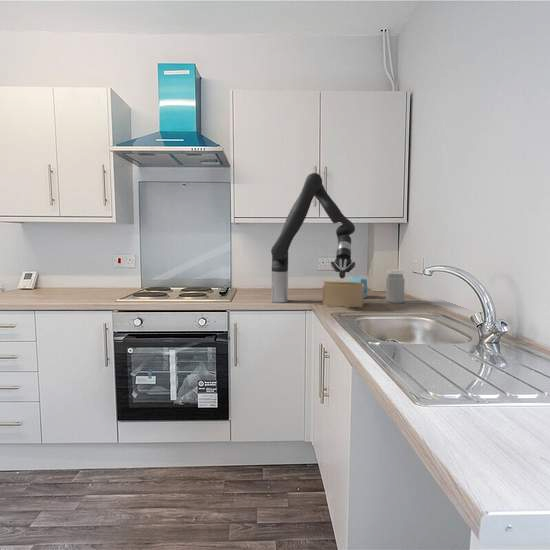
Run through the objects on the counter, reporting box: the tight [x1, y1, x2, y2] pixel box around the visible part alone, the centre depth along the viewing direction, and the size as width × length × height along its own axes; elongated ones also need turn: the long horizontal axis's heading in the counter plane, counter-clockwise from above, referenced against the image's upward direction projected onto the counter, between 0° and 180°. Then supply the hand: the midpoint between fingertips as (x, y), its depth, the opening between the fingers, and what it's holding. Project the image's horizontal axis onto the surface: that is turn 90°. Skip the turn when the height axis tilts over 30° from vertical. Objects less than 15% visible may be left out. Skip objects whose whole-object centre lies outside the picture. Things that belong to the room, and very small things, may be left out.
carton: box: [322, 283, 365, 308], centre depth 214 cm, size 21×15×11 cm
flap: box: [323, 280, 361, 286], centre depth 201 cm, size 19×1×10 cm
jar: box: [385, 269, 406, 304], centre depth 220 cm, size 10×10×18 cm
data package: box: [349, 276, 368, 299], centre depth 238 cm, size 12×4×12 cm, turn 22°
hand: (342, 277), depth 197 cm, fingers closed
